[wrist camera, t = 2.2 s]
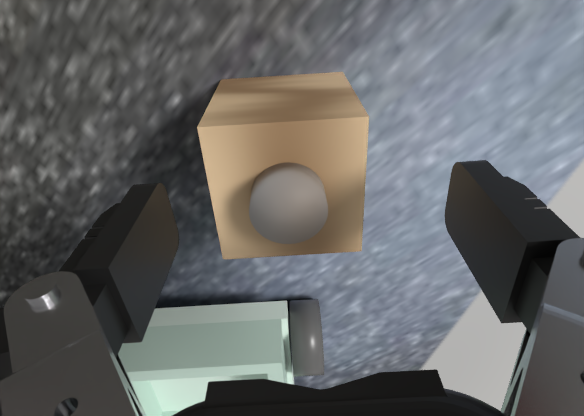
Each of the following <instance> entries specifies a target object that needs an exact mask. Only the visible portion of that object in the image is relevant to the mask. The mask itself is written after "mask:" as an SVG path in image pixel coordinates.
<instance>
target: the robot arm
mask: <svg viewBox="0 0 584 416" xmlns="http://www.w3.org/2000/svg"><path fill="white" fill-rule="evenodd" d="M445 223H446V228H447V231H448V233H449V235H450V236H451V238H452V240H453V242H454V243H455V245H456V247H457V248H458V250H459V252H460V253H461V255H462V257H463V259H464V260H465V262H466V264H467V265H468V267H469V269H470V270H471V272H472V274H473V276H474V277H475V279H476V281H477V282H478V284H479V286H480V287H481V289H482V291H483V293H484V294H485V296H486V298H487V299H488V301H489V303H490V305H491V306H492V308H493V310H494V311H495V313H496V315H497V316H498V318H499V320H500V321H501V323H513V322H523V324H524V325H525V327H526V328H527V329H526V331H525V334H524V337H523V340H522V343H521V346H520V349H519V353H518V356H517V359H516V363H515V366H514V369H513V373H512V376H511V379H510V383H509V387H508V390H507V393H506V396H505V399H504V403H503V406H502V408H501V411H499V410H498V409H496V408H494V407H492V406H490V405H488V404H486V403H485V402H483V401H481V400H478V399H476V398H473V397H471V396H468V395H466V394H463V393H460V392H456V391H453V390H449V389H444V388H443V385H442V382H441V379H440V377H439V374H438V371H437V370H419V371H400V372H381V373H377V374H374V375H370V376H367V377H364V378H361V379H357V380H354V381H351V382H348V383H345V384H341V385H338V386H335V387H332V388H328V389H321V390H320V389H313V388H308V387H303V386H298V385H293V384H288V383H283V382H278V381H273V380H268V379H249V380H230V381H211V382H208V386H207V391H206V397H205V401H202V402H199V403H196V404H194V405H192V406H189V407H187V408H185V409H183V410H181V411H179V412H178V413H176V414H174V415H172V416H584V238H580V237H579V236H578V235H577V234H576V233H575V232H574V231H572V230H571V229H570V228H569V227H568V226H567V225H566V224H565V223H564V222H563V221H562V220H561V219H560V218H559V217H558V216H557V215H555V213H554V212H553V211H551V210H550V209H547V206H546V205H545V204H544V203H543V202H542V201H541V200H540V199H537V196H536V195H535V194H534V193H533V192H531V191H530V190H529V189H528V188H527V187H526V186H525V185H523V184H521V183H519V182H517V181H515V180H513V179H511V178H509V177H503V176H502V175H501V174H500V173H499V172H498V171H497V170H496V169H495V168H494V167H493V166H492V165H491V164H490V163H489V162H488V161H486V160H480V161H467V162H457V163H455V164H454V166H453V168H452V172H451V178H450V184H449V190H448V196H447V202H446V209H445ZM178 245H179V234H178V228H177V225H176V221H175V218H174V215H173V211H172V208H171V204H170V201H169V198H168V194H167V191H166V189H165V187H164V185H163V184H162V183H154V184H140V185H133V186H132V187H131V189H130V190H129V191H128V193H127V194H126V196H125V197H124V199H123V200H122V201H121V203H117V204H115V205H114V206H112V207H111V208H109V209H108V210H107V211H105V212H104V213H102V214H101V215H100V217H99V218H98V219H97V221H96V222H95V223H94V225H93V226H92V229H90V230H89V231H88V233H87V234H86V235H85V239H83V240H82V241H81V242H80V244H79V245H78V246H77V248H76V249H75V250H74V252H73V253H72V254H71V256H70V257H69V258H68V260H67V261H66V262H65V264H64V265H63V266H62V268H61V269H60V270H59V272H53V273H49V274H45V275H42V276H40V277H37V278H35V279H33V280H31V281H29V282H28V283H26V284H24V285H23V286H21V287H20V288H19V289H18V290H16V291H15V292H14V293H13V294H12V295H11V296H10V297H9V299H8V300H7V302H6V304H5V306H4V308H1V309H0V416H146V414H145V412H144V409H143V407H142V405H141V403H140V401H139V398H138V396H137V394H136V392H135V390H134V387H133V385H132V383H131V381H130V378H129V376H128V374H127V372H126V370H125V367H124V365H123V363H122V361H121V359H120V357H119V355H118V353H119V351H120V348H121V346H122V344H123V343H139V342H142V340H143V338H144V335H145V332H146V330H147V327H148V325H149V322H150V320H151V317H152V314H153V312H154V309H155V307H156V304H157V301H158V299H159V296H160V294H161V291H162V289H163V286H164V283H165V281H166V278H167V276H168V273H169V270H170V268H171V265H172V263H173V260H174V258H175V255H176V252H177V250H178Z"/></svg>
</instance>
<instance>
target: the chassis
mask: <svg viewBox="0 0 584 416" xmlns="http://www.w3.org/2000/svg"><path fill="white" fill-rule="evenodd" d="M290 331H291V341H290ZM291 349H292V353H291ZM118 355H119V357H120V359H121V361H122V363H123V365H124V367H125V370H126V372H127V374H128V376H129V378H130V381H131V383H132V385H133V387H134V390H135V392H136V394H137V396H138V398H139V401H140V403H141V405H142V407H143V409H144V412H145V414H146V416H172V415H174V414H176V413H178V412H179V411H181V410H183V409H185V408H187V407H189V406H192V405H194V404H196V403H199V402H202V401H205V397H206V391H207V386H208V382H211V381H230V380H249V379H268V380H273V381H278V382H283V383H288V384H293V385H294V377H296V376H313V375H324V354H323V339H322V326H321V316H320V307H319V301H318V299H311V300H294V301H290V329H289V318H288V306H287V301H272V302H255V303H239V304H222V305H205V306H189V307H172V308H156V309H154V312H153V314H152V317H151V320H150V322H149V325H148V327H147V330H146V332H145V335H144V338H143V340H142V342H139V343H123V344H122V346H121V348H120V351H119V353H118ZM293 375H294V376H293Z"/></svg>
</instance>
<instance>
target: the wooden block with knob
mask: <svg viewBox="0 0 584 416" xmlns="http://www.w3.org/2000/svg"><path fill="white" fill-rule="evenodd" d="M368 125H369V116H368V114H367V112H366V111H365V109H364V107H363V106H362V104H361V102H360V101H359V99H358V97H357V95H356V94H355V92H354V90H353V89H352V87H351V85H350V83H349V82H348V80H347V78H346V77H345V75H344V73H343V72H333V73H318V74H302V75H286V76H270V77H254V78H238V79H222V80H221V81H220V83H219V85H218V87H217V89H216V91H215V93H214V95H213V97H212V99H211V101H210V103H209V105H208V107H207V109H206V111H205V113H204V115H203V117H202V119H201V121H200V123H199V125H198V127H197V129H198V134H199V139H200V145H201V150H202V155H203V160H204V165H205V170H206V175H207V180H208V185H209V190H210V195H211V201H212V206H213V211H214V216H215V221H216V226H217V231H218V236H219V241H220V246H221V251H222V256H223V259H239V258H256V257H273V256H289V255H306V254H323V253H339V252H356V251H361V250H362V232H363V215H364V197H365V179H366V161H367V143H368Z"/></svg>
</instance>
